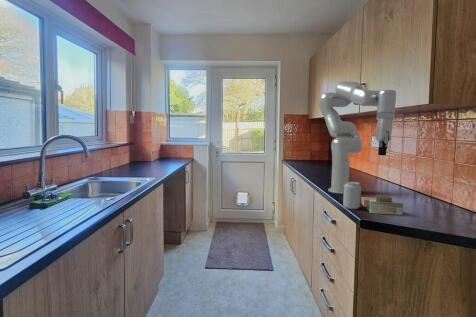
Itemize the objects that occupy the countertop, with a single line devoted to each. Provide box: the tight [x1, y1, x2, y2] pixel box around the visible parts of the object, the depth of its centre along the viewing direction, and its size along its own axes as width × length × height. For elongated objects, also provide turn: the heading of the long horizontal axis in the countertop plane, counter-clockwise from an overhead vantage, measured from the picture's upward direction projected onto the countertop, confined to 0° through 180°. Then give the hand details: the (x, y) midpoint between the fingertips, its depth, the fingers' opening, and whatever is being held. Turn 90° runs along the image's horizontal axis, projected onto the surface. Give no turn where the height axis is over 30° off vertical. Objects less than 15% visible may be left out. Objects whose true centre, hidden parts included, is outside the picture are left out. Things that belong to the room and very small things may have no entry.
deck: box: [360, 196, 404, 216], centre depth 141 cm, size 18×13×5 cm
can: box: [342, 181, 362, 210], centre depth 142 cm, size 8×8×12 cm
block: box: [375, 194, 393, 202], centre depth 136 cm, size 5×5×4 cm
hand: (382, 155), depth 147 cm, fingers closed
